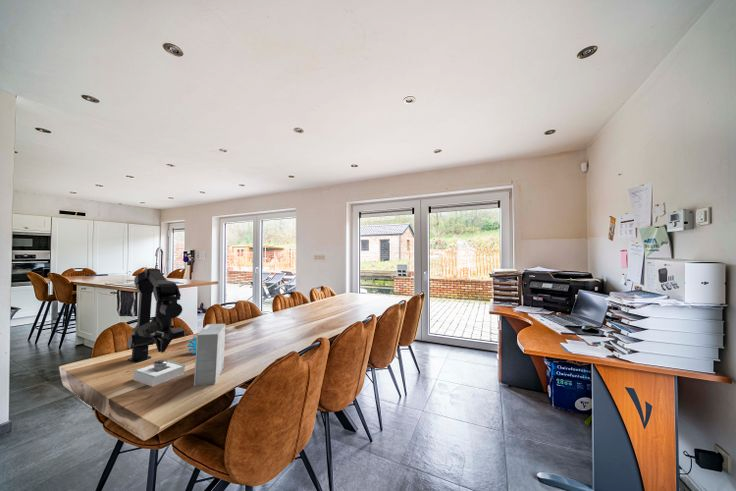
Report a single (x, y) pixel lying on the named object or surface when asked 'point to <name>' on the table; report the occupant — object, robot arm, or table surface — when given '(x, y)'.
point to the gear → (192, 345)
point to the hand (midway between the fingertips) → (161, 352)
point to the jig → (158, 374)
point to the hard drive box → (209, 354)
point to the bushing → (160, 365)
